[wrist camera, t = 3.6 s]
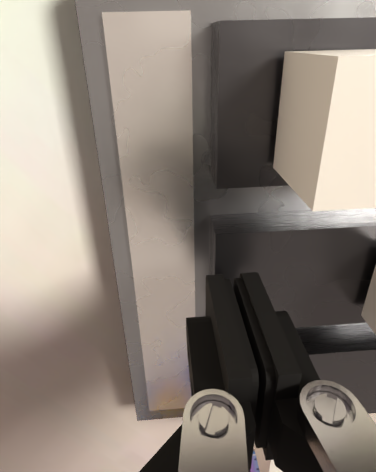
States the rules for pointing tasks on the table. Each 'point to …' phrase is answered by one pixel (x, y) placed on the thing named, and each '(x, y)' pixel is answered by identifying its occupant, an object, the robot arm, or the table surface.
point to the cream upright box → (328, 128)
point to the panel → (220, 181)
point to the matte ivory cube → (371, 304)
